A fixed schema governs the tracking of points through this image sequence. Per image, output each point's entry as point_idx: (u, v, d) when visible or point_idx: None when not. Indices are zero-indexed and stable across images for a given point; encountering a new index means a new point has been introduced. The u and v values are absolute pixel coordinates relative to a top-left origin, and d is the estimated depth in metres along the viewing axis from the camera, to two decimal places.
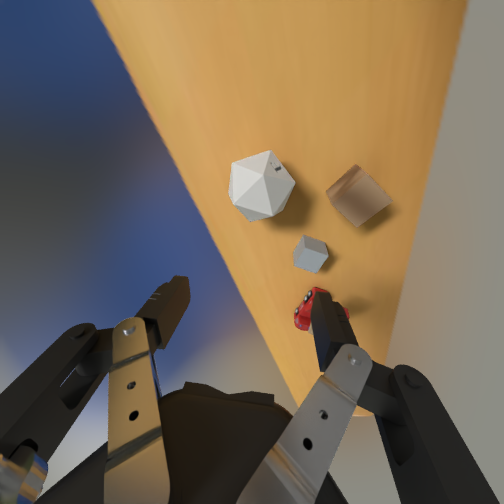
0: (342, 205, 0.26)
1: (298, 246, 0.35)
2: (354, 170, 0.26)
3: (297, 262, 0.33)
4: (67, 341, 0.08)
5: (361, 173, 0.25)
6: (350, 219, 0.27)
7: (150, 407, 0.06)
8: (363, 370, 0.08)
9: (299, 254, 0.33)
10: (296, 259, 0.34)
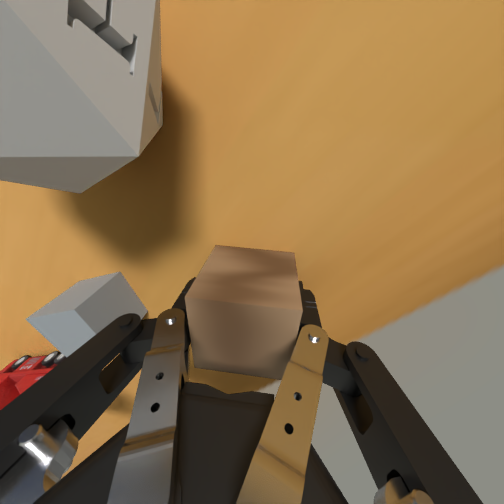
0: (204, 315, 0.09)
1: (89, 283, 0.15)
2: (284, 265, 0.11)
3: (38, 319, 0.12)
4: (115, 328, 0.09)
5: (290, 290, 0.09)
6: (195, 348, 0.10)
7: (170, 404, 0.06)
8: (319, 346, 0.08)
9: (58, 308, 0.12)
10: (44, 311, 0.13)
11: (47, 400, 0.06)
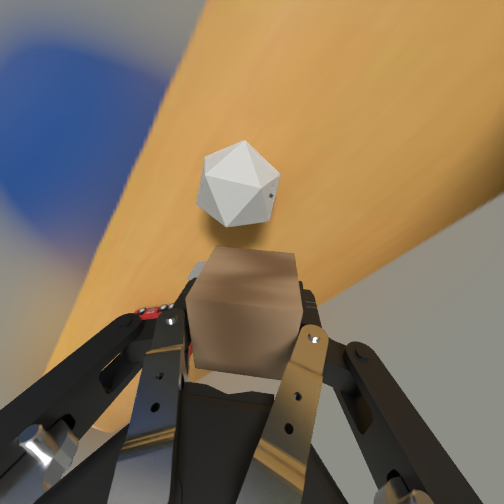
0: (204, 316, 0.09)
1: None
2: (284, 266, 0.11)
3: None
4: (116, 328, 0.09)
5: (290, 291, 0.09)
6: (196, 349, 0.10)
7: (170, 404, 0.06)
8: (319, 346, 0.08)
9: None
10: (195, 274, 0.28)
11: (47, 400, 0.06)
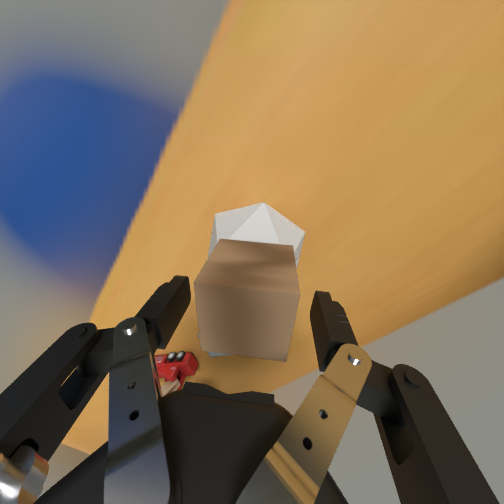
0: (210, 300, 0.10)
1: None
2: (283, 256, 0.12)
3: None
4: (68, 341, 0.08)
5: (289, 277, 0.10)
6: (202, 331, 0.11)
7: (150, 407, 0.06)
8: (362, 370, 0.08)
9: None
10: None
11: (0, 428, 0.06)
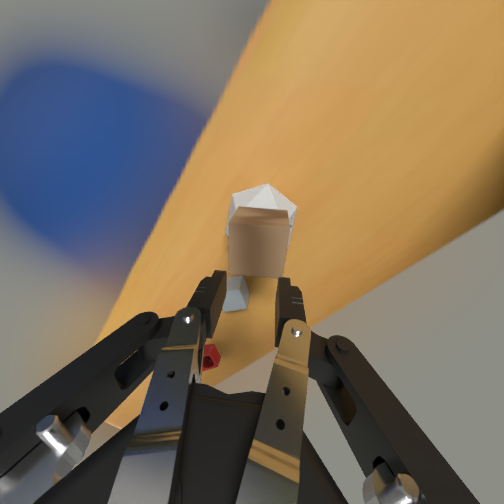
0: (237, 234, 0.17)
1: (231, 279, 0.34)
2: (281, 214, 0.19)
3: None
4: (134, 325, 0.09)
5: (284, 222, 0.17)
6: (231, 258, 0.18)
7: (178, 404, 0.06)
8: (301, 339, 0.09)
9: (228, 289, 0.32)
10: None
11: (65, 392, 0.07)
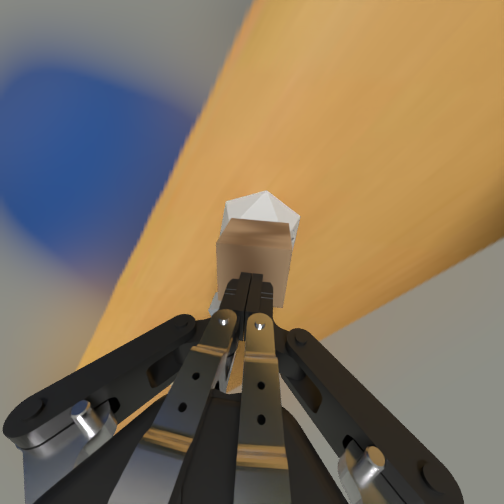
0: (228, 256, 0.14)
1: None
2: (281, 229, 0.16)
3: (214, 310, 0.29)
4: (172, 326, 0.09)
5: (285, 241, 0.14)
6: (220, 283, 0.15)
7: (195, 411, 0.06)
8: (261, 332, 0.09)
9: None
10: (216, 307, 0.29)
11: (102, 380, 0.07)
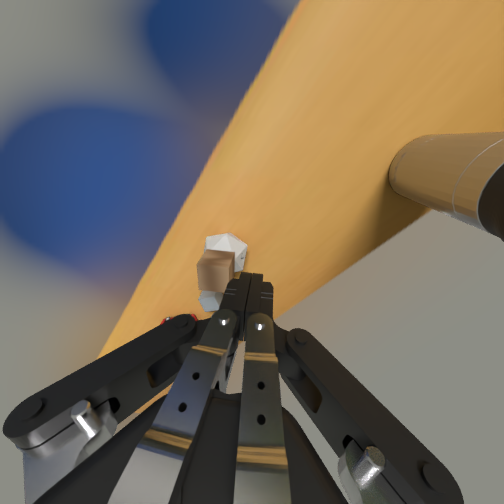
0: (202, 270, 0.32)
1: None
2: (229, 256, 0.34)
3: (202, 299, 0.46)
4: (172, 326, 0.09)
5: (227, 263, 0.32)
6: (199, 282, 0.33)
7: (195, 411, 0.06)
8: (261, 332, 0.09)
9: (207, 296, 0.46)
10: (203, 297, 0.46)
11: (102, 380, 0.07)
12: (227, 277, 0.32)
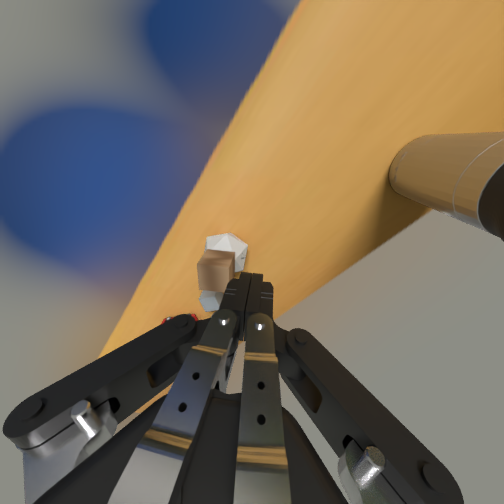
0: (202, 269, 0.32)
1: None
2: (229, 256, 0.34)
3: (202, 299, 0.46)
4: (172, 326, 0.09)
5: (228, 263, 0.32)
6: (199, 281, 0.33)
7: (195, 411, 0.06)
8: (261, 332, 0.09)
9: (207, 296, 0.46)
10: (203, 297, 0.47)
11: (102, 380, 0.07)
12: (227, 277, 0.32)
